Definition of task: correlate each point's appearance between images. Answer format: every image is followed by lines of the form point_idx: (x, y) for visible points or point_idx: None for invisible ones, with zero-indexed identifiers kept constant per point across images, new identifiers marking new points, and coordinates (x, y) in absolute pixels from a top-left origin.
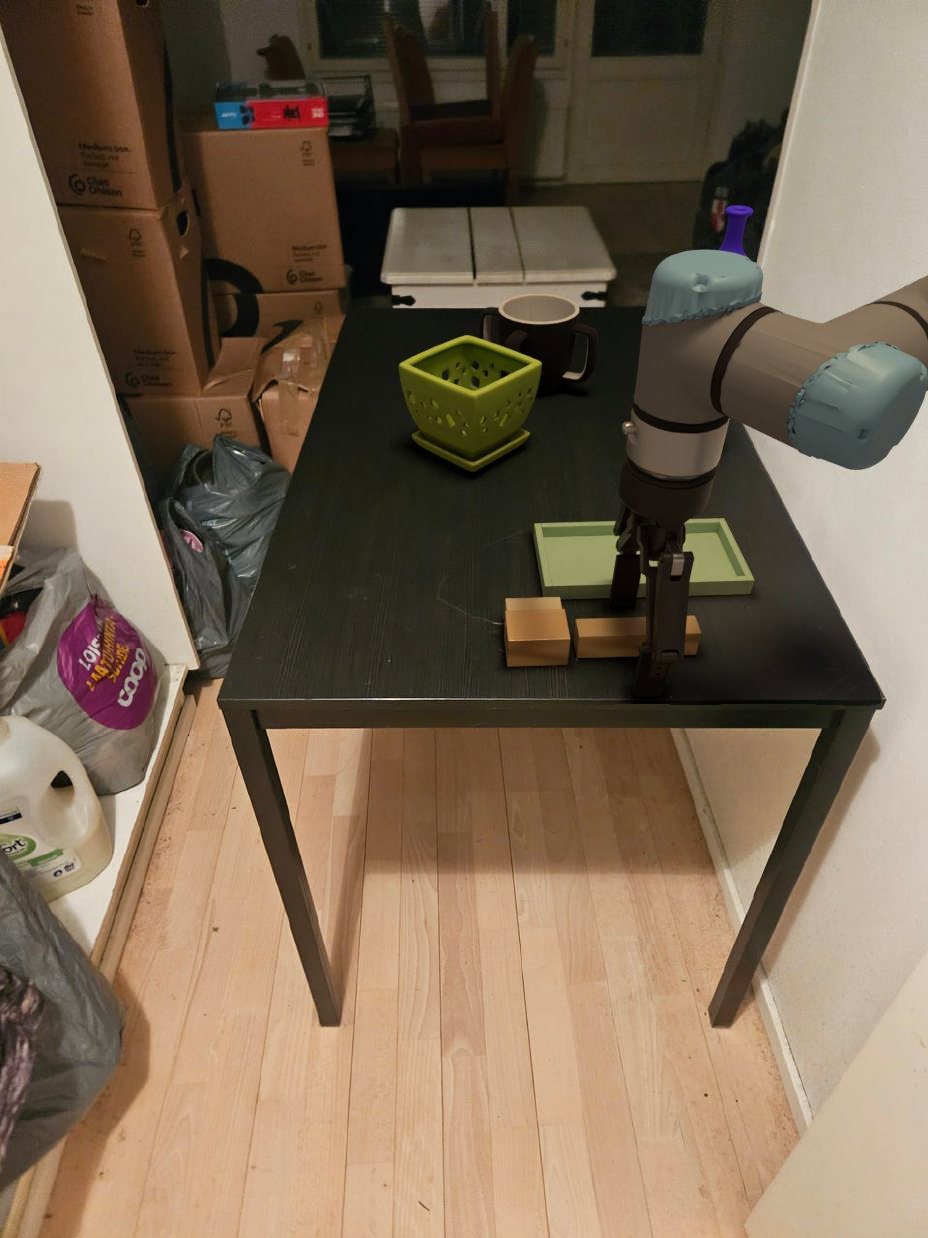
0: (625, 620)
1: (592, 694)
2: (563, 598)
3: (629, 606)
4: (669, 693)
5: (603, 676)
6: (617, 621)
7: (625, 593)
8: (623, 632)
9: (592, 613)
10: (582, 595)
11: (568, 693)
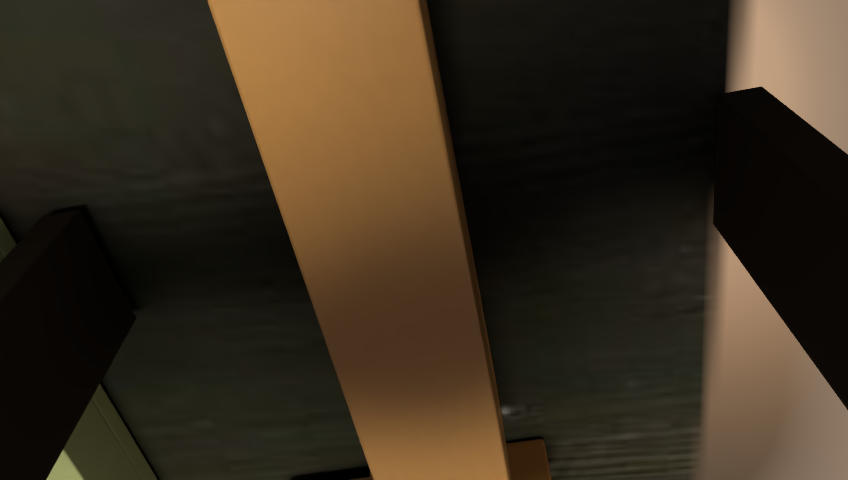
0: (359, 360)
1: (705, 356)
2: (150, 473)
3: (93, 237)
4: (727, 38)
5: (601, 323)
6: (377, 394)
7: (66, 321)
8: (461, 365)
9: (199, 371)
10: (108, 426)
11: (694, 426)
